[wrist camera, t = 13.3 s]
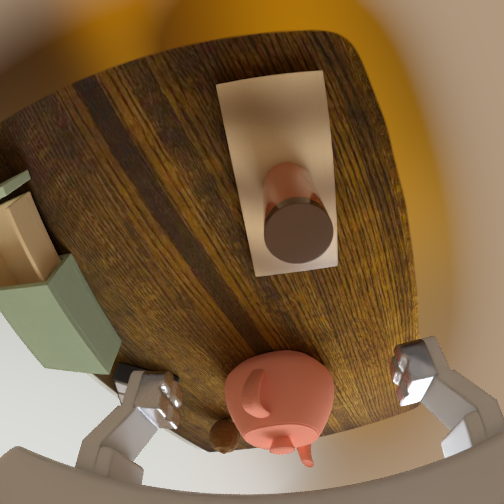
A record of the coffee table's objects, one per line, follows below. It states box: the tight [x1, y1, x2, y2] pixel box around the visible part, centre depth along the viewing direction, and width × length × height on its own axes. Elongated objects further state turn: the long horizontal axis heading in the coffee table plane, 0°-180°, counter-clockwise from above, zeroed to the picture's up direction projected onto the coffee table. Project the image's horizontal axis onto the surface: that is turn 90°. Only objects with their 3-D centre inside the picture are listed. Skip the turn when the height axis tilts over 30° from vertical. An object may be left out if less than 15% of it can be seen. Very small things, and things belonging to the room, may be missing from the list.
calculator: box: [113, 363, 179, 405], centre depth 48 cm, size 11×4×15 cm
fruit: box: [209, 419, 240, 454], centre depth 52 cm, size 6×6×8 cm
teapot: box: [225, 350, 334, 467], centre depth 41 cm, size 25×17×13 cm
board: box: [216, 70, 338, 277], centre depth 28 cm, size 20×9×2 cm, turn 10°
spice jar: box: [262, 162, 334, 264], centre depth 23 cm, size 5×5×9 cm
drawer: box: [0, 170, 61, 287], centre depth 28 cm, size 20×13×5 cm
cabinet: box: [0, 253, 122, 375], centre depth 36 cm, size 17×15×7 cm
